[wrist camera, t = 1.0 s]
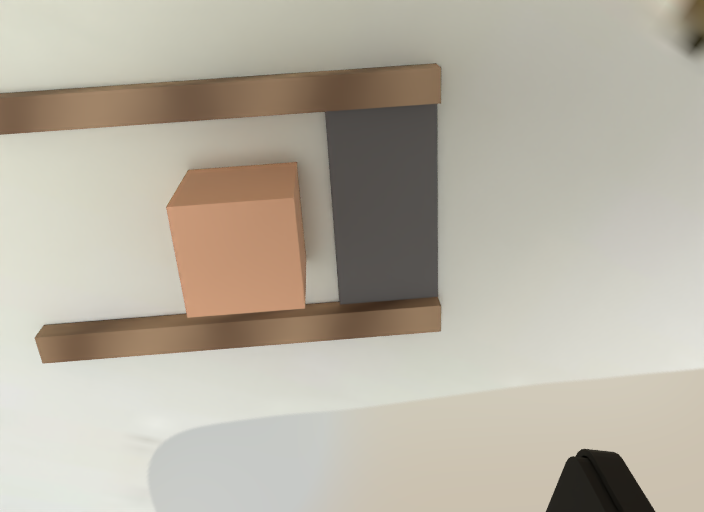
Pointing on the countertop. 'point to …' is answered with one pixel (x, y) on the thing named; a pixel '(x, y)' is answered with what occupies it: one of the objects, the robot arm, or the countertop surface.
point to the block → (239, 239)
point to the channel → (346, 188)
